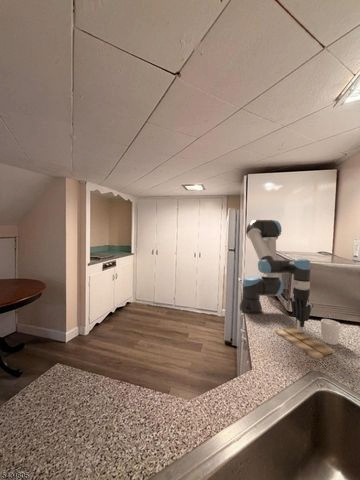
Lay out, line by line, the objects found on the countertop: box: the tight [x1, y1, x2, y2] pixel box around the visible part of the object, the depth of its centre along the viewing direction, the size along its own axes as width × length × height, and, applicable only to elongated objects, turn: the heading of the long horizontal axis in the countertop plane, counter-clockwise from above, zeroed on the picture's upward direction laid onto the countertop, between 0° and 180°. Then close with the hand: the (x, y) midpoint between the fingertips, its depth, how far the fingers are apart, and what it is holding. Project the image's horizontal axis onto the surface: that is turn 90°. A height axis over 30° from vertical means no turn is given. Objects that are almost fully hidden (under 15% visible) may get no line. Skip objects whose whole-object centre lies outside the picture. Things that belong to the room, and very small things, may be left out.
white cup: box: [320, 318, 341, 346], centre depth 103 cm, size 8×8×10 cm
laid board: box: [274, 329, 324, 359], centre depth 101 cm, size 24×4×1 cm, turn 16°
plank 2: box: [302, 337, 335, 356], centre depth 97 cm, size 11×6×1 cm, turn 16°
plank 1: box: [283, 326, 311, 342], centre depth 108 cm, size 11×6×1 cm, turn 16°
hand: (299, 331), depth 109 cm, fingers closed
